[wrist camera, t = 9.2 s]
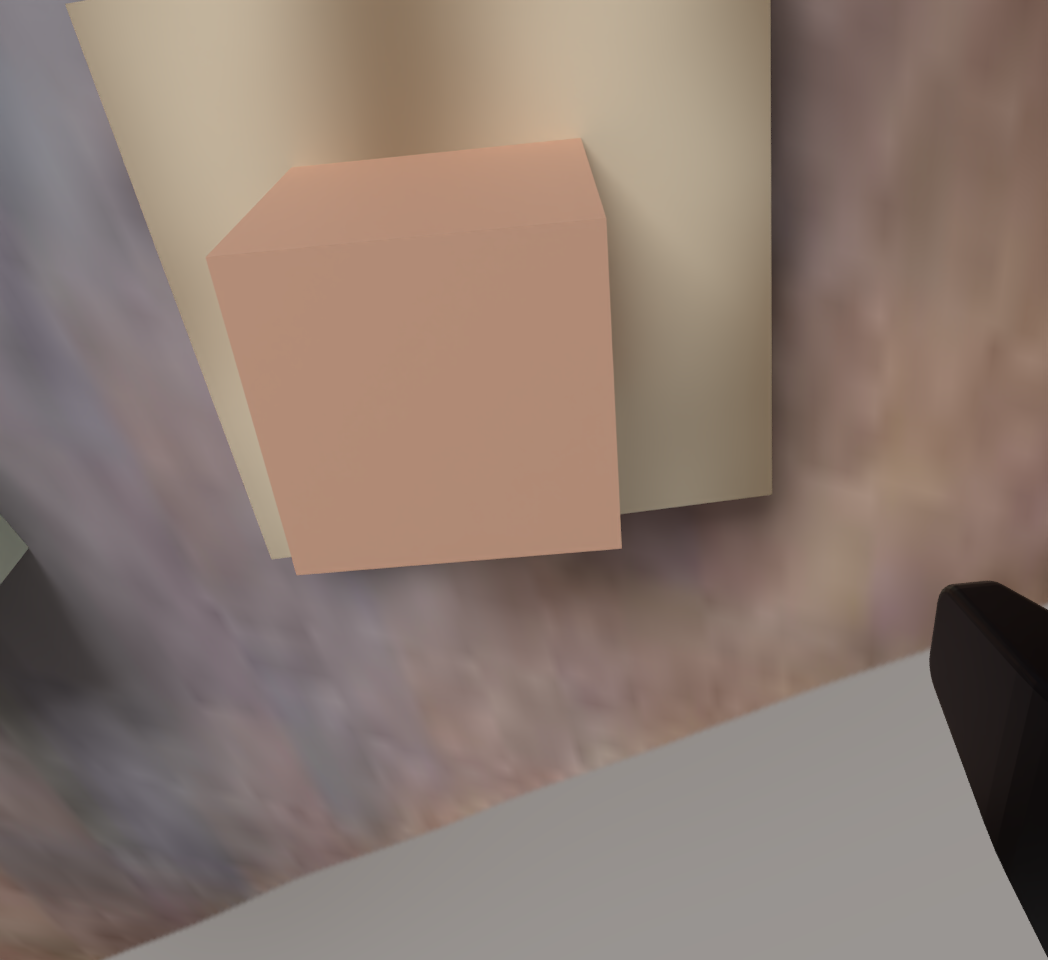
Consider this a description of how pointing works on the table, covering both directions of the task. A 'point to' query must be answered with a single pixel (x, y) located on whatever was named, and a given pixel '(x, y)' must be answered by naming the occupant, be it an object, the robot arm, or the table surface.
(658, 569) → the table surface
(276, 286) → the terracotta cube
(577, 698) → the table surface
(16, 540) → the sage cube
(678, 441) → the plinth
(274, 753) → the table surface
